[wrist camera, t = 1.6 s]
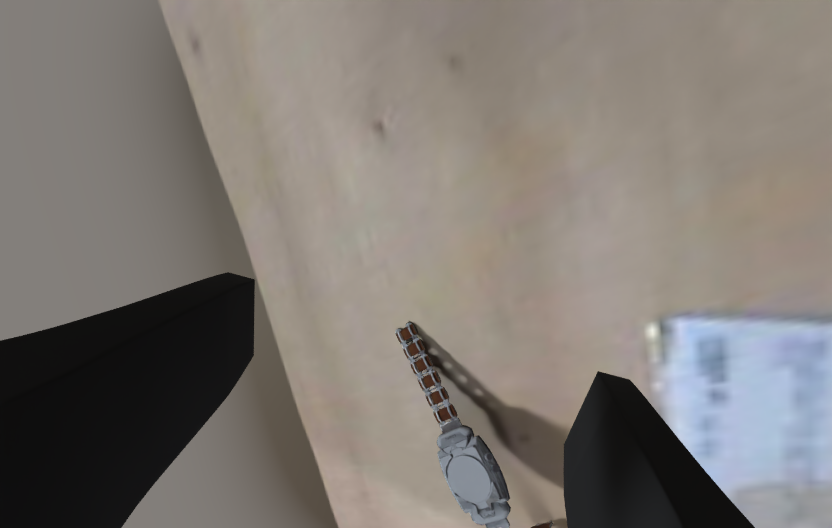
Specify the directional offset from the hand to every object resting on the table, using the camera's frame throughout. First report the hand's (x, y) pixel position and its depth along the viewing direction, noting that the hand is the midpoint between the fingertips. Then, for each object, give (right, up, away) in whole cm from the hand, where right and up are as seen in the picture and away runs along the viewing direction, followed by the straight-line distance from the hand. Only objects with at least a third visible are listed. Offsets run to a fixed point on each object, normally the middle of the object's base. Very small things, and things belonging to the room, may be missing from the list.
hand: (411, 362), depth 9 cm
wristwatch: (+4, -7, +17) cm, 19 cm away
